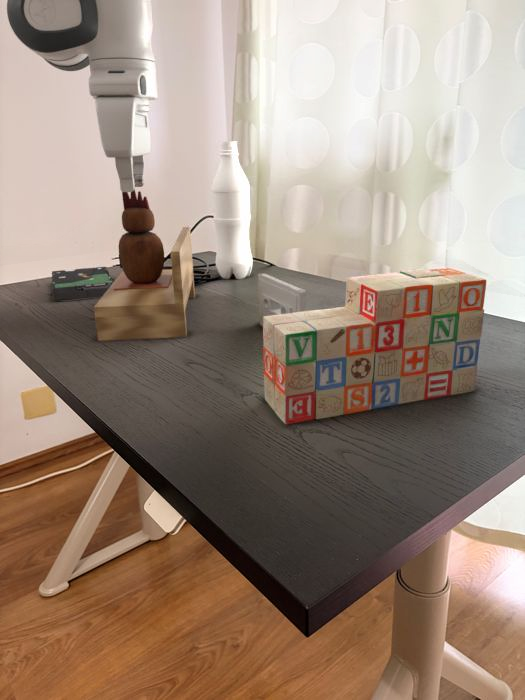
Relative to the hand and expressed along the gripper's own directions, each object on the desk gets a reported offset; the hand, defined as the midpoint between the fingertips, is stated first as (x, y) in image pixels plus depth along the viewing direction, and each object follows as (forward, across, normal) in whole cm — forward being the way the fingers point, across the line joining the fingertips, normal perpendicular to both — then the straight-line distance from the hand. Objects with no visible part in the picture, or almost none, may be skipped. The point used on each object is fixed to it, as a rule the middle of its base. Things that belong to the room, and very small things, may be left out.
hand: (133, 189), depth 86 cm
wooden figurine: (+14, 0, 0) cm, 14 cm away
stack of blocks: (+19, +34, +28) cm, 48 cm away
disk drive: (+19, -17, -14) cm, 29 cm away
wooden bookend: (+19, +2, +2) cm, 19 cm away
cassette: (+19, +14, +20) cm, 31 cm away
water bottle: (+19, -23, +14) cm, 33 cm away
